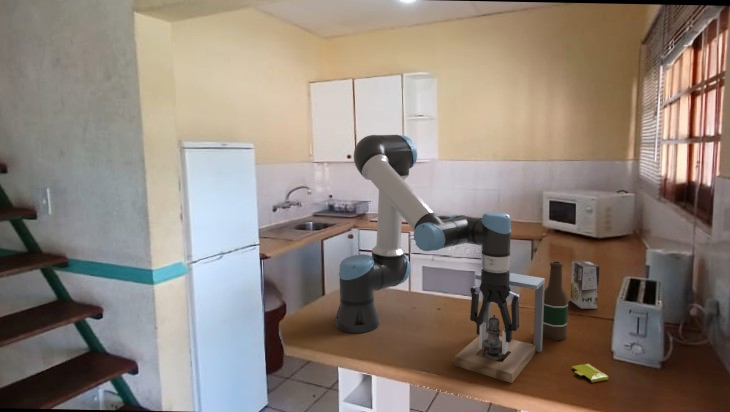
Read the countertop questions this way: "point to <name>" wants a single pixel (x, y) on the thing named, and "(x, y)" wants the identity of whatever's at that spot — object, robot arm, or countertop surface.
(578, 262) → the coffee box
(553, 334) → the beer bottle
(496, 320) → the grey chess piece
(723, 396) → the countertop surface
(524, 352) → the socket
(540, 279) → the grey arch frame
